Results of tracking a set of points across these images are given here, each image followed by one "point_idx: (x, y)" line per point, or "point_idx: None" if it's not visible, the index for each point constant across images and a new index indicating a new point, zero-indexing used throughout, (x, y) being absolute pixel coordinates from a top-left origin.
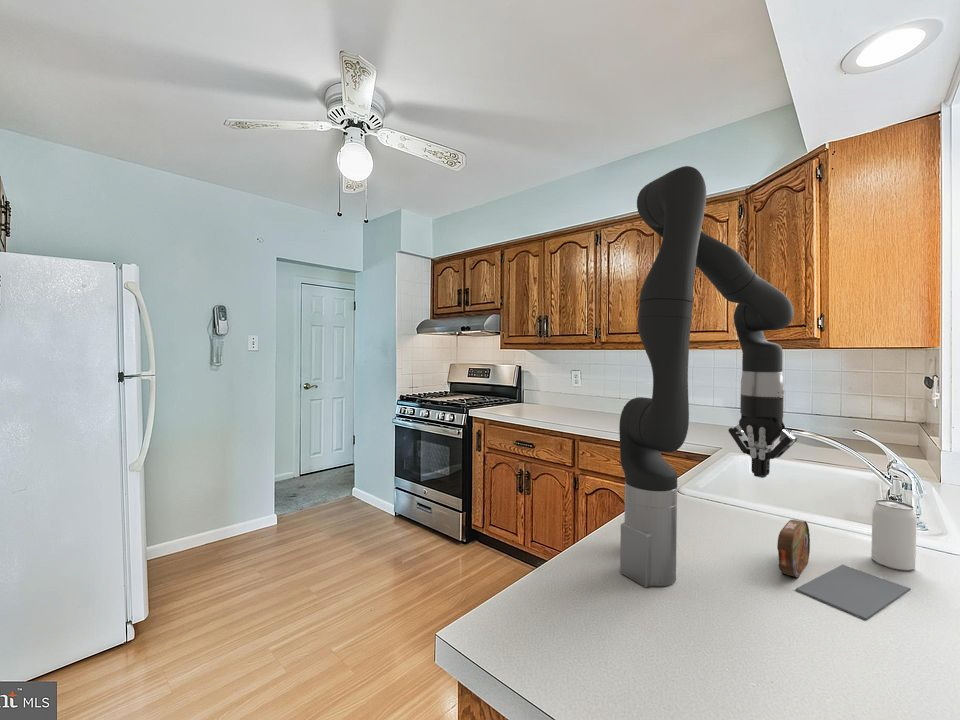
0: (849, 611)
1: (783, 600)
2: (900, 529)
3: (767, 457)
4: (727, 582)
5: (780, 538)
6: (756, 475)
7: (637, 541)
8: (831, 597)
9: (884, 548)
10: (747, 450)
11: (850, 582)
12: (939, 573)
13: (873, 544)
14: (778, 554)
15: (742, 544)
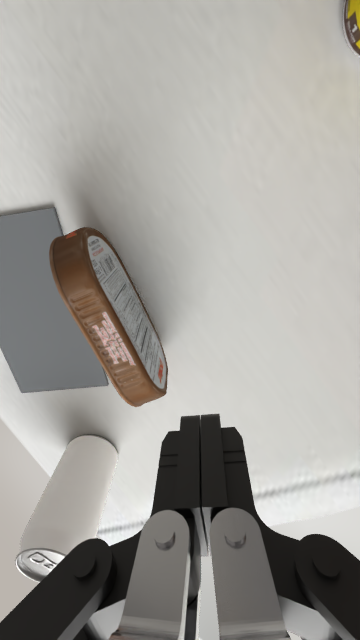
0: None
1: (25, 134)
2: (39, 503)
3: (136, 550)
4: (121, 69)
5: (79, 255)
6: (204, 415)
7: None
8: (12, 242)
9: (77, 458)
10: (298, 574)
11: (52, 331)
12: None
13: (98, 462)
14: (83, 229)
15: (248, 305)
